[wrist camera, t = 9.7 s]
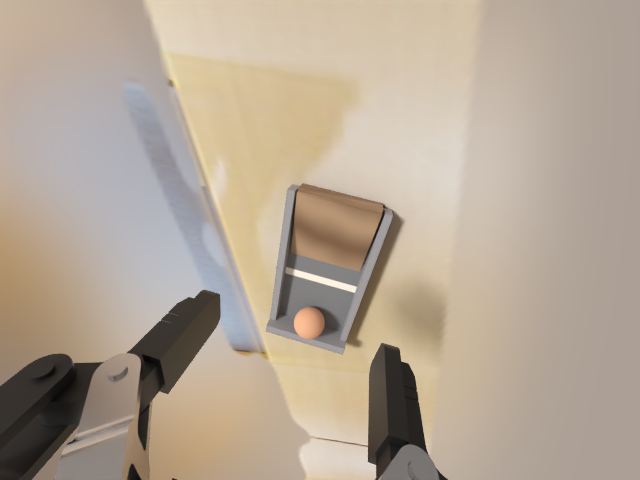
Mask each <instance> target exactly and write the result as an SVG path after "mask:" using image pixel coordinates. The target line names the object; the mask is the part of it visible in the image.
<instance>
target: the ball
mask: <svg viewBox="0 0 640 480" xmlns="http://www.w3.org/2000/svg"><path fill="white" fill-rule="evenodd" d="M324 324H325V321H324V317H323V315H322V313H321V312H320V311H319V310H318V309H316V308H314V307H305V308H303V309H301V310H300V311H299V312H298V313H297V314H296V316H295V319H294V328H295V331H296V332H297V334H298V335H299V336H300V337H302V338H304V339H314V338H316V337H318V336H319V335H320V334H321V333H322V331H323V329H324Z"/></svg>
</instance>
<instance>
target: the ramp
mask: <svg viewBox="0 0 640 480" xmlns="http://www.w3.org/2000/svg"><path fill="white" fill-rule="evenodd" d="M382 212H383V204H382V203H378V202H374V201H370V200H366V199H362V198H358V197H354V196H350V195H346V194H342V193H339V192H335V191H331V190H327V189H323V188H319V187H315V186H311V185H307V184H302V185H301V186H300V187H299V188H298V192H297V196H296V206H295V216H294V226H293V236H292V246H291V253H293V254H297V255H301V256H304V257H308V258H311V259H315V260H319V261H322V262H326V263H330V264H333V265H337V266H340V267H344V268H348V269H351V270H355V271H359V272H360V270H361V267H362V265H363V262H364V259H365V257H366V254H367V252H368V249H369V247H370V244H371V242H372V239H373V237H374V234H375V232H376V229H377V227H378V224H379V221H380V219H381V216H382Z"/></svg>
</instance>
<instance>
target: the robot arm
mask: <svg viewBox="0 0 640 480" xmlns="http://www.w3.org/2000/svg"><path fill="white" fill-rule="evenodd" d="M219 320H220V295H219V294H218V293H214V292H211V291H207V290H202V291H201V292H200V293H199V294H198V295H197V296H196V297H195V298H194V299H193V298H190V297H188V298H187V299H185V300H183V301H181V302H179V303H177V304H176V306H174V307H173V308H172V309H171V310H170V311H169V313H168V314H166V315H165V317H163V318H162V320H161V321H159V323H157V324H156V325H155V326H154V327H153V328H152V329H151V330H150V331H149V332H148V333H147V334H146V335H145V336H144V337H143V338H142V339H141V340H140V341H139V342H138V343H137V344H136V345H135V346H134V347H133V348H132V349H131V350H130V351H128V352H127V353H126V354H120V355H117V356H114V357H112V358H110V359H108V360H106V361H105V362H100V363H73V361H72V359H71V358H70V357H69V356H68V355H65V354H52V355H48V356H45V357H42V358H39V359H38V360H35V361H33V362H32V363H30V364H28V365H27V366H26V367H24V368H23V369H22V370H20V371H19V372H18V373H17V374H15V375H14V376H13V377H12V378H10V379H9V380H8V381H7V382H5V383H4V384H3V385H2V386H0V480H32V479H33V477H34V476H35V475H36V474H37V473H38V472H39V470H40V469H41V468H42V467H43V466H44V465H45V464H46V462H47V461H48V460H49V459H50V458H51V457H52V456H53V454H54V453H55V452H56V451H57V450H58V449H59V447H60V446H61V445H62V444H63V443H64V442H65V440H66V439H67V438H68V437H69V436H70V435H71V434H72V433H73V431H74V430H75V429H76V428H77V427H78V426H79V427H78V431H77V434H76V437H75V439H74V440H73V441H72V442H70V443H68V444H67V445H66V447H65V448H64V450H63V453H62V455H61V458H60V462H59V464H58V468H57V471H56V474H55V478H54V480H150V466H149V441H150V428H151V427H150V426H151V414H152V400H153V398H154V397H155V396H156V394H157V393H158V392H159V391H161V392H163V393H167V394H168V393H169V392H170V391H171V389H172V388H173V386H174V385H175V384H176V382H177V381H178V379H179V378H180V377H181V375H182V374H183V373H184V371H185V370H186V368H187V367H188V365H189V364H190V363H191V361H192V360H193V359H194V357H195V356H196V354H197V353H198V352H199V350H200V349H201V347H202V346H203V345H204V343H205V342H206V341H207V339H208V338H209V337H210V335H211V334H212V332H213V331H214V329H215V328H216V326H217V325H218V323H219ZM416 390H417V387H416V381H415V376H414V374H413V372H412V370H411V368H410V366H409V364H408V363H404V362H401V357H400V350H399V348H398V347H394V346H391V345H388V344H384V343H382V344H381V345H380V347H379V349H378V351H377V353H376V355H375V357H374V359H373V361H372V364H371V367H370V374H369V427H368V462H369V463H372V464H375V465H376V478H375V480H448V479H446V478H445V477H444V476H443V475H442V474H441V473H440V472H439V471H438V470H437V469H436V467H435V465H434V463H433V461H432V460H431V458H430V457H429V455H428V452H427V449H426V445H425V439H424V433H423V426H422V420H421V413H420V407H419V403H418V394H417V391H416ZM172 480H176V479H174V478H173V479H172Z"/></svg>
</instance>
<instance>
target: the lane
mask: <svg viewBox="0 0 640 480" xmlns="http://www.w3.org/2000/svg"><path fill="white" fill-rule="evenodd" d="M299 187H300V186H296V185H291V186H290V187H289V188H288V189H287V196H286V203H285V211H284V218H283V225H282V233H281V240H280V248H279V255H278V263H277V270H276V278H275V285H274V292H273V300H272V307H271V315H270V320H269V322H268V324H267V327H266V332H269V333H273V334H276V335H279V336H283V337H286V338H289V339H292V340H296V341H299V342H302V343H306V344H309V345H312V346H316V347H319V348H322V349H325V350H329V351H332V352H335V353H339V354H342V355H343V353H344V350H345V343H346V339H347V337H348V334H349V332H350V329H351V326H352V324H353V321H354V318H355V316H356V313H357V310H358V308H359V305H360V302H361V300H362V297H363V294H364V292H365V289H366V287H367V284H368V281H369V279H370V276H371V273H372V271H373V268H374V265H375V263H376V260H377V257H378V255H379V252H380V250H381V247H382V244H383V242H384V239H385V236H386V234H387V231H388V228H389V226H390V223H391V220H392V218H393V213H392V210H390V209H386V208H383V212H382V216H381V219H380V221H379V224H378V227H377V229H376V232H375V234H374V237H373V239H372V242H371V244H370V247H369V249H368V252H367V254H366V257H365V259H364V262H363V265H362V267H361V270H360V272H359V271H355V270H351V269H348V268H344V267H340V266H337V265H333V264H330V263H326V262H322V261H319V260H315V259H311V258H308V257H304V256H301V255H297V254H293V253H291V246H292V236H293V226H294V216H295V206H296V196H297V192H298V188H299ZM305 307H314V308H316V309H318V310H319V311H320V312H321V313H322V315H323V317H324V321H325V324H324V329H323V331H322V333H321V334H320V335H319V336H318V337H316V338H314V339H304V338H302V337H300V336H299V335H298V334H297V332H296V331H295V328H294V319H295V316H296V314H297V313H298V312H299V311H300V310H301V309H303V308H305Z"/></svg>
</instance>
